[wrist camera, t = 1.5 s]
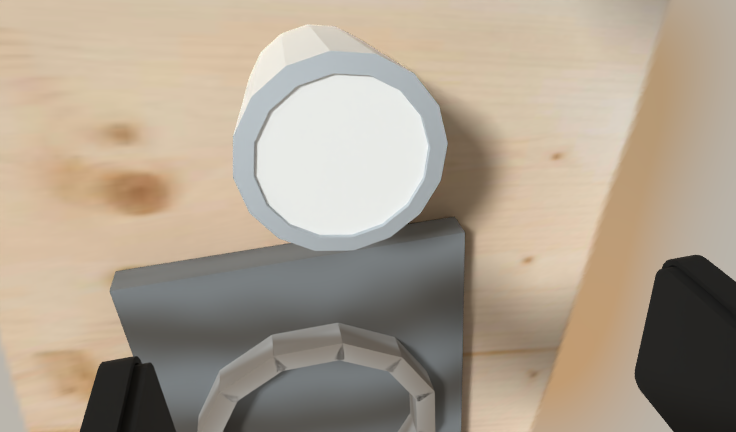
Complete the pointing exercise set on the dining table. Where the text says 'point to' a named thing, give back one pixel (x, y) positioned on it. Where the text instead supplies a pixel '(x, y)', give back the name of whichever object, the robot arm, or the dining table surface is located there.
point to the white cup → (335, 141)
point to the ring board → (306, 335)
